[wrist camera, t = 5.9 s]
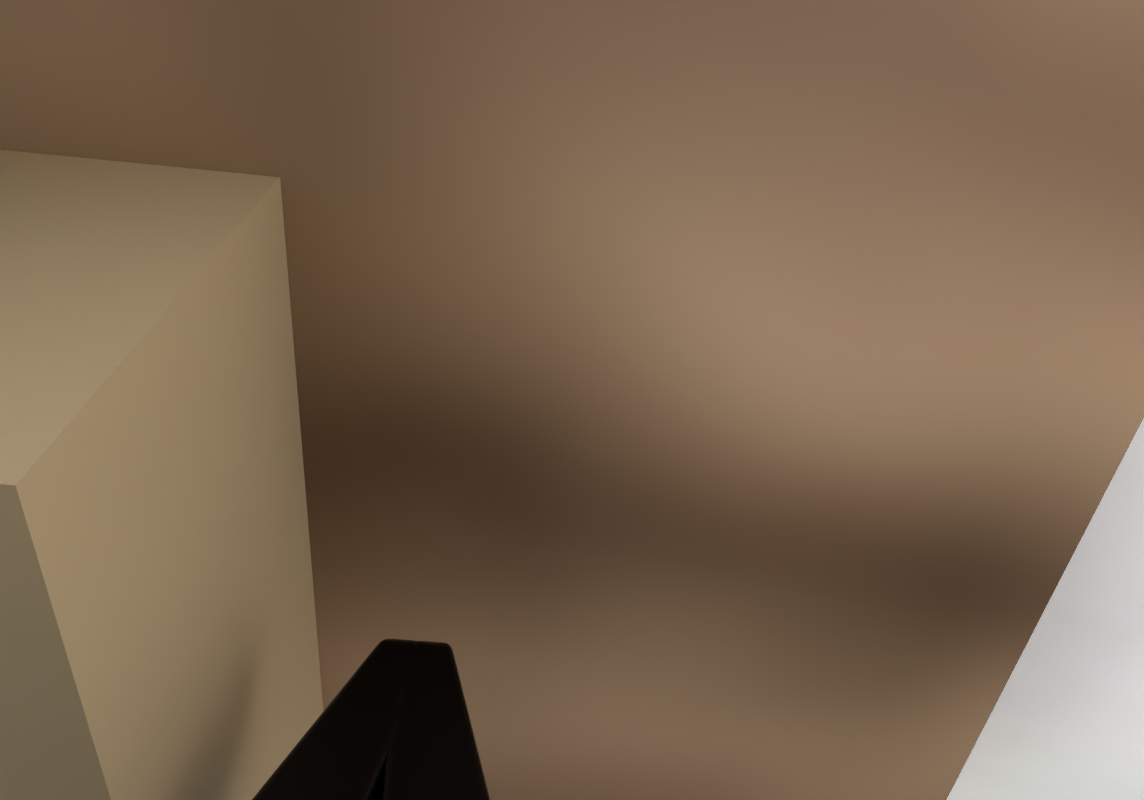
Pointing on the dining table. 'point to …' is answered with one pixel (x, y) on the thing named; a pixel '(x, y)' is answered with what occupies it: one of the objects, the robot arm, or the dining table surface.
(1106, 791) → the dining table surface
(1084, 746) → the dining table surface
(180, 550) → the carton
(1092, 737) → the dining table surface
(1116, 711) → the dining table surface
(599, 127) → the podium
